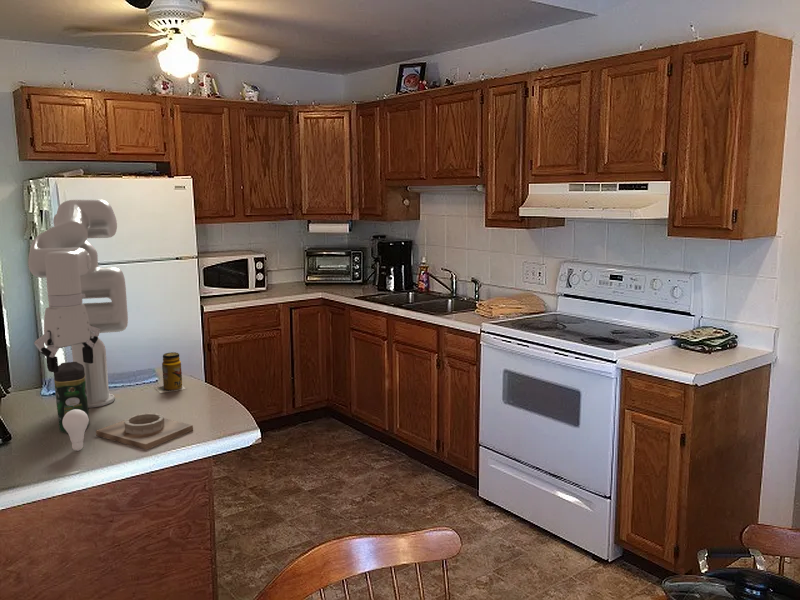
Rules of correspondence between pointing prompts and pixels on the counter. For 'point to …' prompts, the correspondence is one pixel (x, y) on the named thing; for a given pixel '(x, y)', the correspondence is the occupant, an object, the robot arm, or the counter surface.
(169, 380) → the condiment
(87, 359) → the robot arm
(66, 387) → the coffee jar
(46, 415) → the counter surface
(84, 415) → the lightbulb
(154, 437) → the socket board
